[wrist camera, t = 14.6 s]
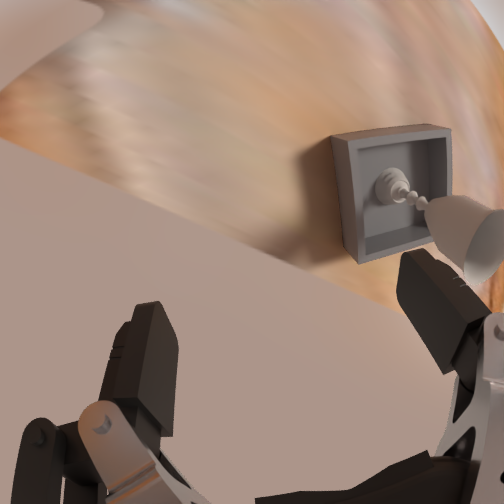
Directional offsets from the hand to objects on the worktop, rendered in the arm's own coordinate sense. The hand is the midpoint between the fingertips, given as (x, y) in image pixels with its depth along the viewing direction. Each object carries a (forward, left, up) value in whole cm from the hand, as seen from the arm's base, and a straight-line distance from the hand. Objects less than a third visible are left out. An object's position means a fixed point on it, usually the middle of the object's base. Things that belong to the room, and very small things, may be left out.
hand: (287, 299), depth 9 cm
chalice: (+7, +19, -26) cm, 33 cm away
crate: (+7, +19, -26) cm, 33 cm away
